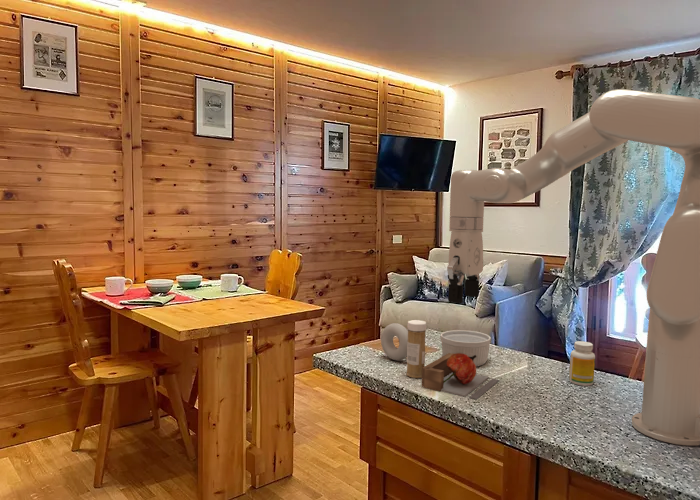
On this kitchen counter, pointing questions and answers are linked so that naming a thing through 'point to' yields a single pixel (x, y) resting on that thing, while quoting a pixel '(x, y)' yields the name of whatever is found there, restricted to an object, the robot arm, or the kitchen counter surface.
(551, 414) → the kitchen counter surface
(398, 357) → the donut
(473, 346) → the ramekin
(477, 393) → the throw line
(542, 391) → the kitchen counter surface
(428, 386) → the backstop rail
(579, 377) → the supplement bottle
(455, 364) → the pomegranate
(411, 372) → the sprinkles bottle
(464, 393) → the mat
